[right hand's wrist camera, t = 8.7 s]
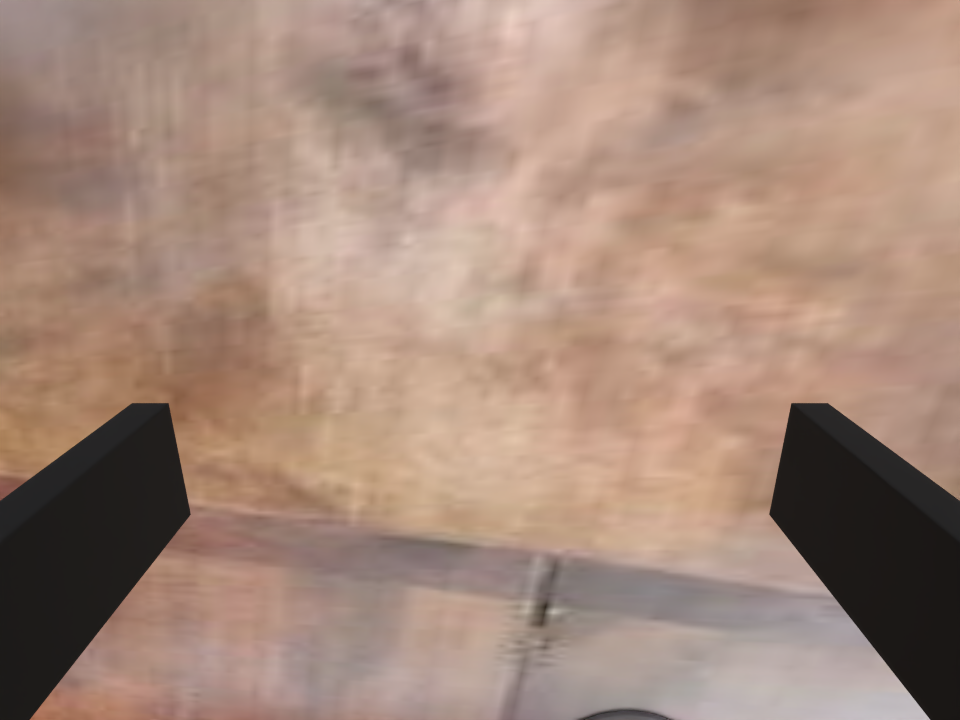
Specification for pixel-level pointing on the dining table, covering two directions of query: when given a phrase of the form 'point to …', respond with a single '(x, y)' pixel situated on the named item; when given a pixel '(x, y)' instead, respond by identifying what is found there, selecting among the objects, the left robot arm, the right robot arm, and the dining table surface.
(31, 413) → the dining table surface
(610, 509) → the dining table surface
